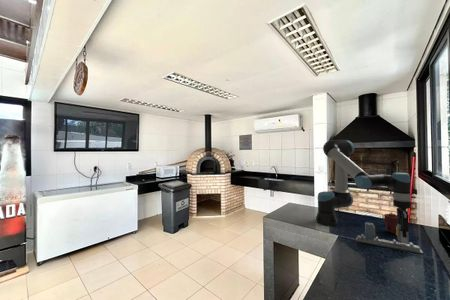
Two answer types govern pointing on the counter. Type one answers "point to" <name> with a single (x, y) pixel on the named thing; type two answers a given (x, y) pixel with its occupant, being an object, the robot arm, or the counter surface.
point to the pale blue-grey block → (400, 233)
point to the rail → (385, 243)
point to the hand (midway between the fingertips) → (403, 240)
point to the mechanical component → (390, 222)
